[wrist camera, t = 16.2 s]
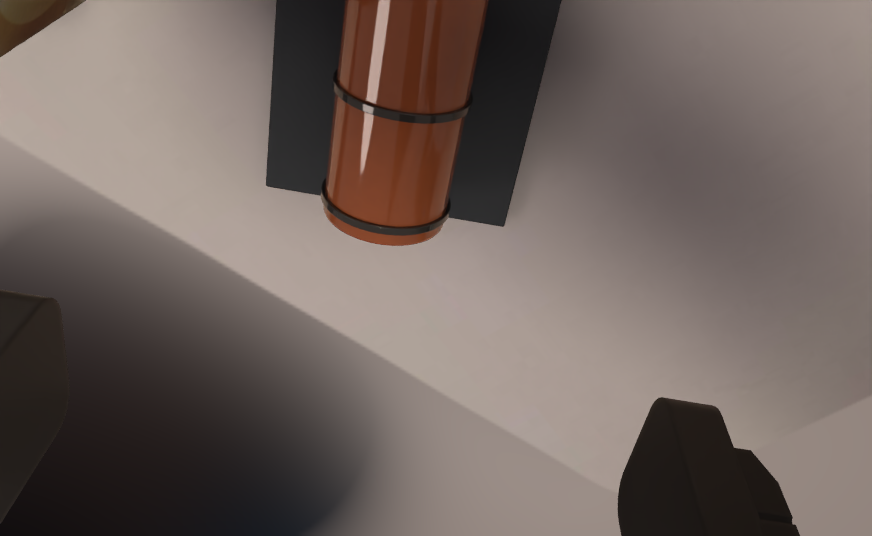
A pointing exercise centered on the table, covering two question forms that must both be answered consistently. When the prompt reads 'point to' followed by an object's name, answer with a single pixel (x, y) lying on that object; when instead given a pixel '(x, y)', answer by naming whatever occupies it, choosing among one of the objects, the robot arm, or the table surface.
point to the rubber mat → (484, 125)
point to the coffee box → (28, 19)
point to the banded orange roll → (399, 115)
